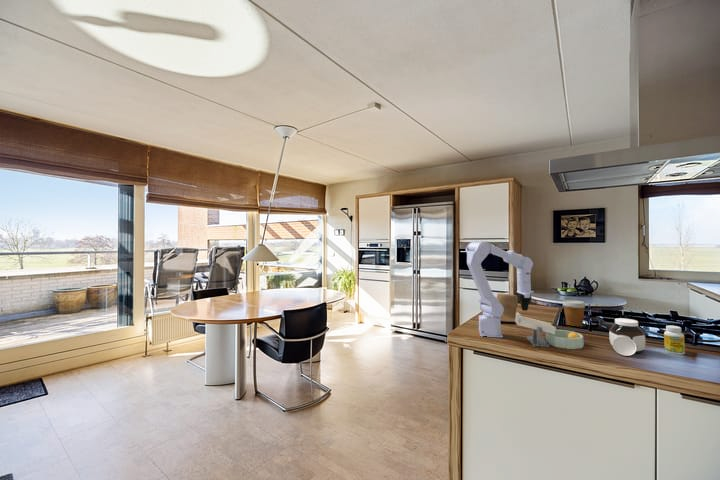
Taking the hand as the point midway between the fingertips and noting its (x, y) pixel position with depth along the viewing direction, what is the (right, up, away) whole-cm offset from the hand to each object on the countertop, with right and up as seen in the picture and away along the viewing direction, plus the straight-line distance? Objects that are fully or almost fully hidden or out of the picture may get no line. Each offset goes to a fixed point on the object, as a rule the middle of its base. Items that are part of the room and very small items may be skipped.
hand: (524, 310), depth 147 cm
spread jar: (+23, -9, -30) cm, 39 cm away
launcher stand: (-3, -10, -16) cm, 19 cm away
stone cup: (-1, -10, +18) cm, 21 cm away
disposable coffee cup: (+27, -9, +5) cm, 29 cm away
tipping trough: (-3, -4, -12) cm, 13 cm away
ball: (+10, -7, -20) cm, 23 cm away
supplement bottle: (+39, -9, -32) cm, 51 cm away
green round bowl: (+6, -10, -19) cm, 22 cm away
